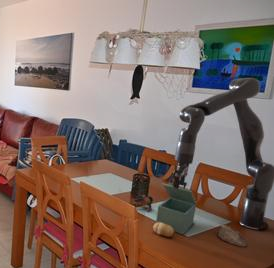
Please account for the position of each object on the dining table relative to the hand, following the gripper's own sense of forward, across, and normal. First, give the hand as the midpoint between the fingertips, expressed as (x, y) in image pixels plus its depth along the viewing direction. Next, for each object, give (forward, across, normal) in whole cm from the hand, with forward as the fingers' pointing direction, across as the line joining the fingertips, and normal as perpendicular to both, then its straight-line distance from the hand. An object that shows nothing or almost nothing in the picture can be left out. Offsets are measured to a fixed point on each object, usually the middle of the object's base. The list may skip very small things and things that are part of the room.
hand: (178, 186), depth 152 cm
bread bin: (+21, +9, +1) cm, 23 cm away
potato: (+22, -7, +1) cm, 23 cm away
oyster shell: (+21, +13, -24) cm, 34 cm away
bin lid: (+6, +9, +1) cm, 11 cm away
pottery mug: (+21, +18, +19) cm, 34 cm away
